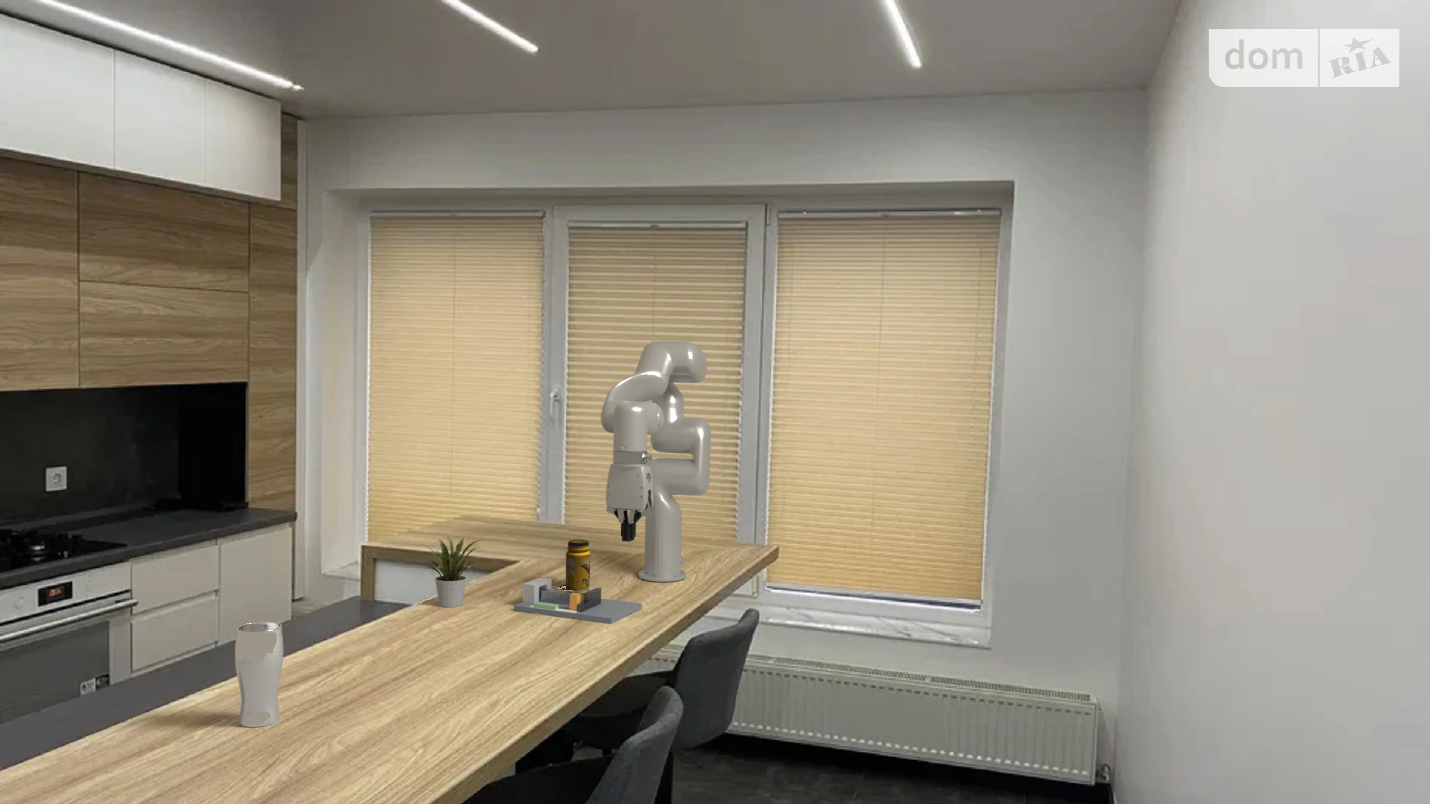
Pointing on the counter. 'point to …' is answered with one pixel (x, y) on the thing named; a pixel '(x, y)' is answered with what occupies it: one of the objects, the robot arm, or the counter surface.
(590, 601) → the plunger
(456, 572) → the house plant
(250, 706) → the beer glass
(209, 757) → the counter surface
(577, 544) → the condiment
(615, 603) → the board
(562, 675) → the counter surface
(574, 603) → the orange block
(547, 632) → the counter surface
